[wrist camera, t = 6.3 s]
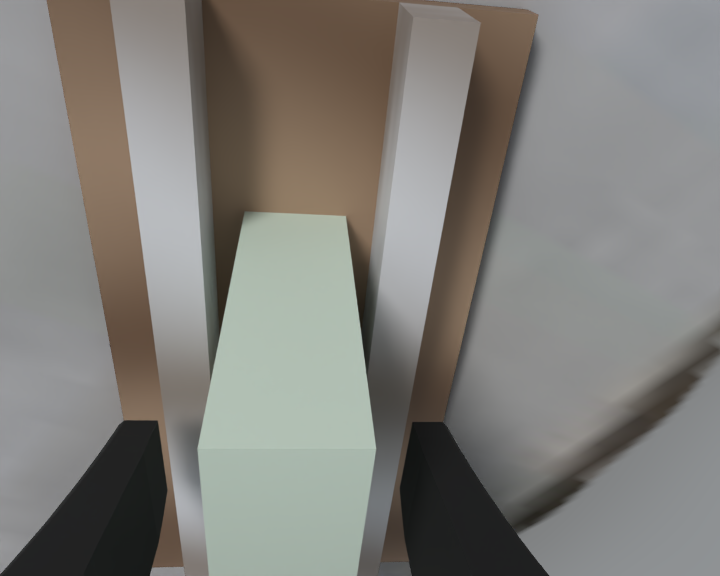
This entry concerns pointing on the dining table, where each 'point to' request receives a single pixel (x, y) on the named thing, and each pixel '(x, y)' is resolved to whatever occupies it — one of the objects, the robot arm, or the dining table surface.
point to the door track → (287, 195)
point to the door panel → (288, 407)
